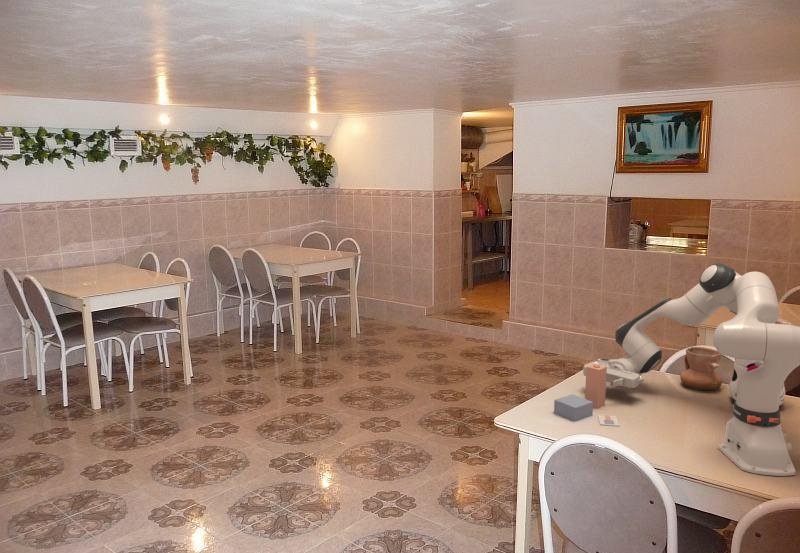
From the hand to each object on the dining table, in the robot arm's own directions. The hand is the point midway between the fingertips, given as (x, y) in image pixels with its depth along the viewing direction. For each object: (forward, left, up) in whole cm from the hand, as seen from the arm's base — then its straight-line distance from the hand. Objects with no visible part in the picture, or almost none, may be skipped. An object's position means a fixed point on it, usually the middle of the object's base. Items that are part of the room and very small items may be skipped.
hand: (600, 380), depth 231 cm
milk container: (+9, -54, -8) cm, 55 cm away
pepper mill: (-7, -48, -8) cm, 49 cm away
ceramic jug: (+24, -39, -8) cm, 46 cm away
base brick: (-13, +10, -8) cm, 19 cm away
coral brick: (-3, +2, -8) cm, 9 cm away
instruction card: (-17, -1, -8) cm, 19 cm away
